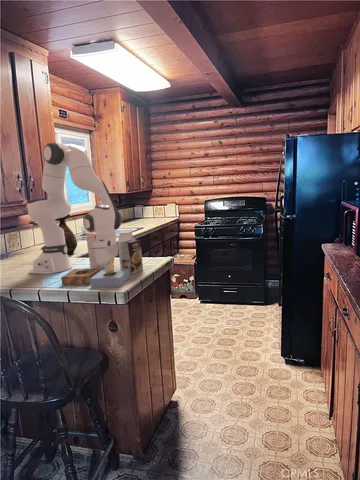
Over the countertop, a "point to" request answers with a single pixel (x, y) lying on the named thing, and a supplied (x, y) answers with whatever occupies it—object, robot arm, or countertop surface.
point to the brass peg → (110, 272)
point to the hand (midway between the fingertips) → (109, 269)
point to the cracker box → (92, 251)
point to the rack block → (79, 276)
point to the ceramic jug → (68, 236)
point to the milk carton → (123, 238)
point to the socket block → (110, 279)
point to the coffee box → (131, 256)
